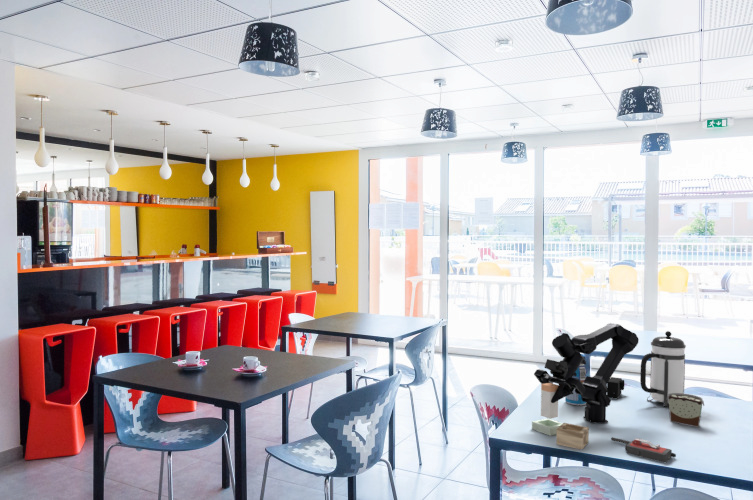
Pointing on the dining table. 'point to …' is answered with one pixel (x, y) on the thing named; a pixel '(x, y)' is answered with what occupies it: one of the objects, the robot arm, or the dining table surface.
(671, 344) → the coffee press
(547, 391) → the plug
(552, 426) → the tray
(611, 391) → the digital camera
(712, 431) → the dining table surface
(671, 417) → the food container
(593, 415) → the robot arm
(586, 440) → the box
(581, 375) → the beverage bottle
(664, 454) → the walkie-talkie
